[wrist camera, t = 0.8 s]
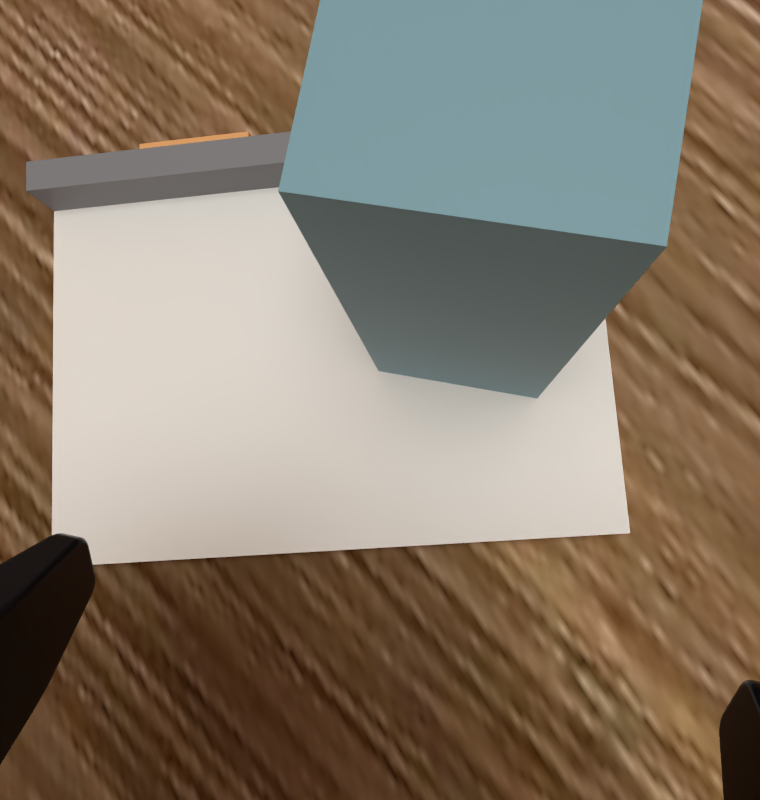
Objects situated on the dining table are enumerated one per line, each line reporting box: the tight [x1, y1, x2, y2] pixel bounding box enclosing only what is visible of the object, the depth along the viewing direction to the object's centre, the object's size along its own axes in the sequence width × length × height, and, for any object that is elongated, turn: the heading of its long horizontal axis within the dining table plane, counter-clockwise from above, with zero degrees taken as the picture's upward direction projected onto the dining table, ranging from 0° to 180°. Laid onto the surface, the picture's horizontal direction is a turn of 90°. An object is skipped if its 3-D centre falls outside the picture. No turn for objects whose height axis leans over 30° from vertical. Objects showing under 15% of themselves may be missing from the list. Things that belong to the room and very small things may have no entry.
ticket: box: [140, 132, 251, 149], centre depth 23 cm, size 1×4×2 cm, turn 94°
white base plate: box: [26, 132, 630, 565], centre depth 22 cm, size 13×18×3 cm
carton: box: [278, 0, 703, 398], centre depth 16 cm, size 5×5×13 cm
